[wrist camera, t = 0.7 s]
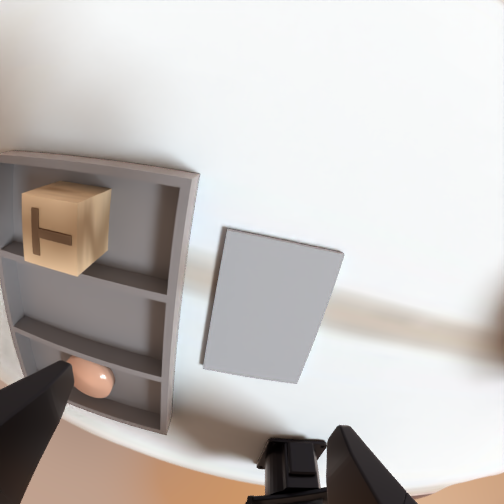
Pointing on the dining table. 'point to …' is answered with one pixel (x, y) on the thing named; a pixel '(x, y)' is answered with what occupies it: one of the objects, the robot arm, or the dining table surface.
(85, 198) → the letter cube
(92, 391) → the peach egg shape
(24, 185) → the organizer tray
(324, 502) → the robot arm
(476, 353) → the dining table surface
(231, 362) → the mat
